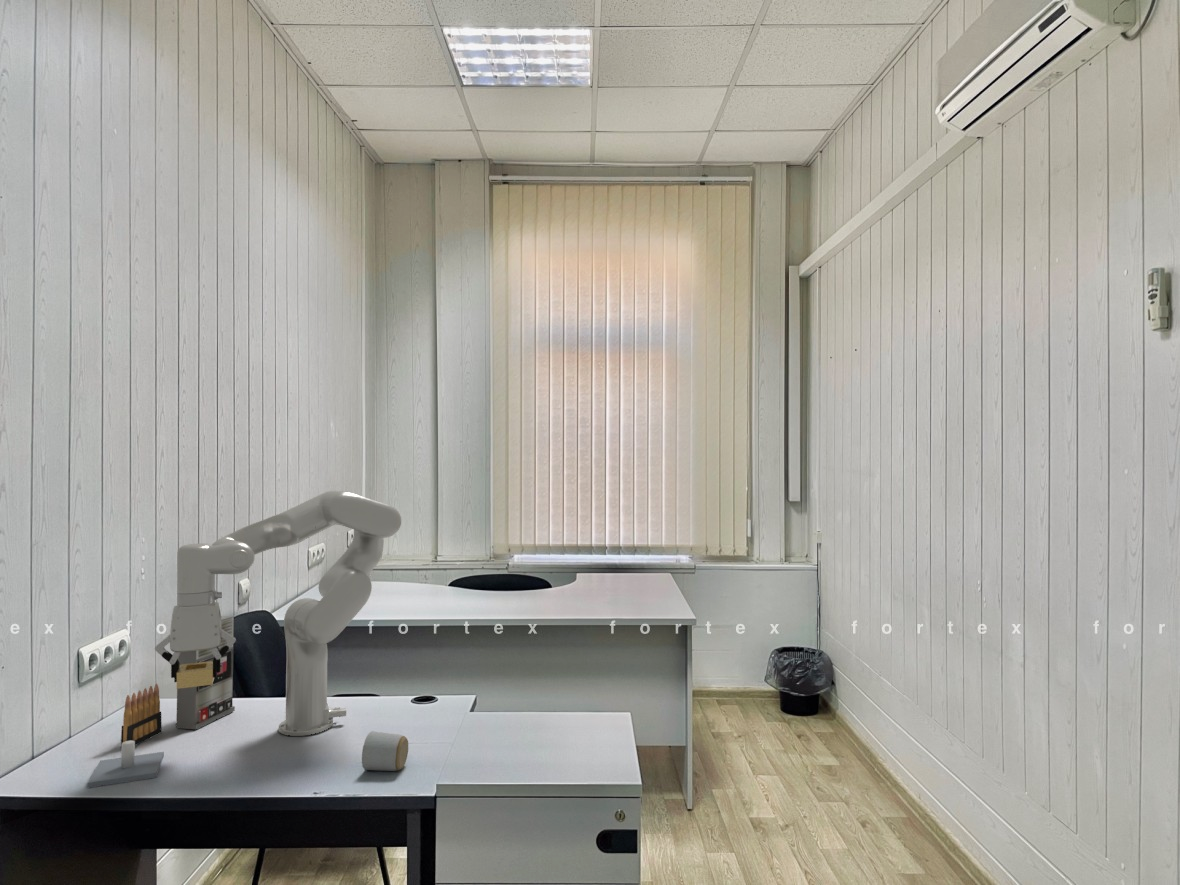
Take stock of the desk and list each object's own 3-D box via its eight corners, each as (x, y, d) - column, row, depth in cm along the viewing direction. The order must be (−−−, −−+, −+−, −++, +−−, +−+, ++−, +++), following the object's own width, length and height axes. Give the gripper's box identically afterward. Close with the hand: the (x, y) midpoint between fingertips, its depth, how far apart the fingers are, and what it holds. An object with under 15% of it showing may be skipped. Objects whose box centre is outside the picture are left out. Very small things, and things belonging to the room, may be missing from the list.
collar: (214, 675, 168) (214, 660, 168) (212, 684, 162) (212, 668, 162) (180, 680, 165) (180, 664, 165) (176, 688, 159) (176, 672, 159)
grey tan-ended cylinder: (398, 777, 152) (399, 739, 152) (360, 775, 152) (361, 738, 153) (414, 757, 162) (414, 722, 163) (378, 756, 163) (379, 721, 163)
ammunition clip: (127, 749, 166) (128, 696, 167) (120, 748, 167) (121, 696, 167) (161, 732, 177) (162, 682, 177) (155, 731, 177) (155, 682, 177)
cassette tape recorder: (197, 730, 178) (198, 628, 179) (175, 728, 179) (177, 627, 180) (235, 711, 191) (236, 616, 192) (215, 710, 193) (216, 615, 193)
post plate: (163, 756, 162) (164, 729, 162) (156, 777, 151) (156, 748, 152) (100, 765, 157) (100, 737, 158) (87, 787, 146) (88, 757, 147)
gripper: (239, 593, 171) (239, 669, 171) (154, 599, 164) (153, 678, 163) (238, 598, 164) (238, 677, 164) (149, 605, 157) (148, 688, 157)
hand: (196, 677), depth 164 cm, fingers closed on collar, 7 cm apart
